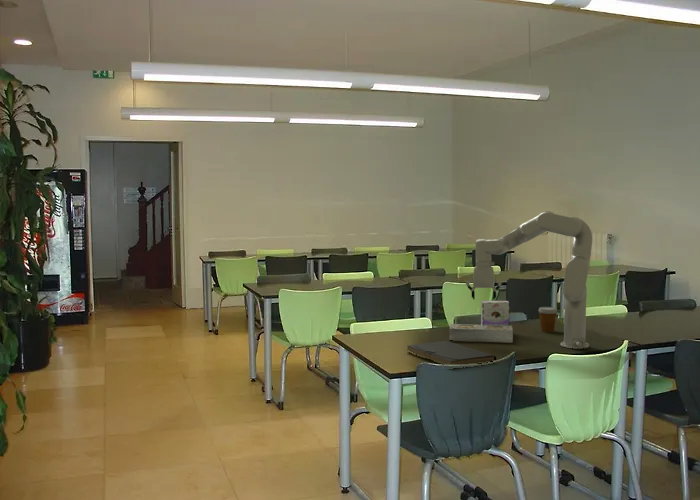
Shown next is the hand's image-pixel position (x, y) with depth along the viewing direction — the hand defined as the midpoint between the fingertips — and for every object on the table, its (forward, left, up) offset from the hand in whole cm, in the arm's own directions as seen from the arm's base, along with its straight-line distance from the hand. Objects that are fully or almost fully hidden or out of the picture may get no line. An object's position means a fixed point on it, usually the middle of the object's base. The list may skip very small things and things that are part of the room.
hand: (483, 299), depth 327 cm
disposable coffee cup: (+15, -38, -20) cm, 45 cm away
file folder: (-34, +24, -21) cm, 46 cm away
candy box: (+14, -10, -20) cm, 26 cm away
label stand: (0, +1, -20) cm, 20 cm away
